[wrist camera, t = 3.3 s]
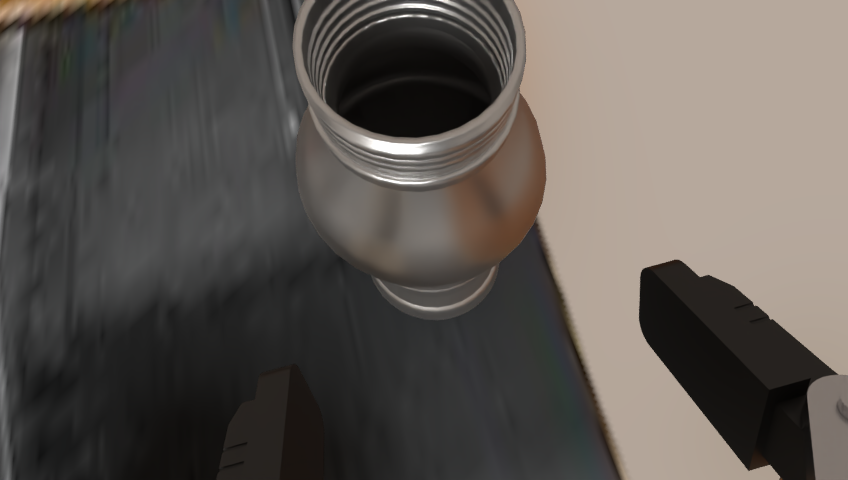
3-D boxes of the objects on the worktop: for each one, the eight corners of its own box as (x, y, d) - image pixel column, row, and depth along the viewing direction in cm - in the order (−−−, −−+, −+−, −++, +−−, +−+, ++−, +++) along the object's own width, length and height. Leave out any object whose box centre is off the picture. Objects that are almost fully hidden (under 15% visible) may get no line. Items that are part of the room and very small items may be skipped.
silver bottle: (458, 346, 26) (507, 335, 7) (351, 283, 27) (112, 110, 7) (515, 243, 27) (700, -30, 8) (409, 186, 28) (335, -185, 9)
